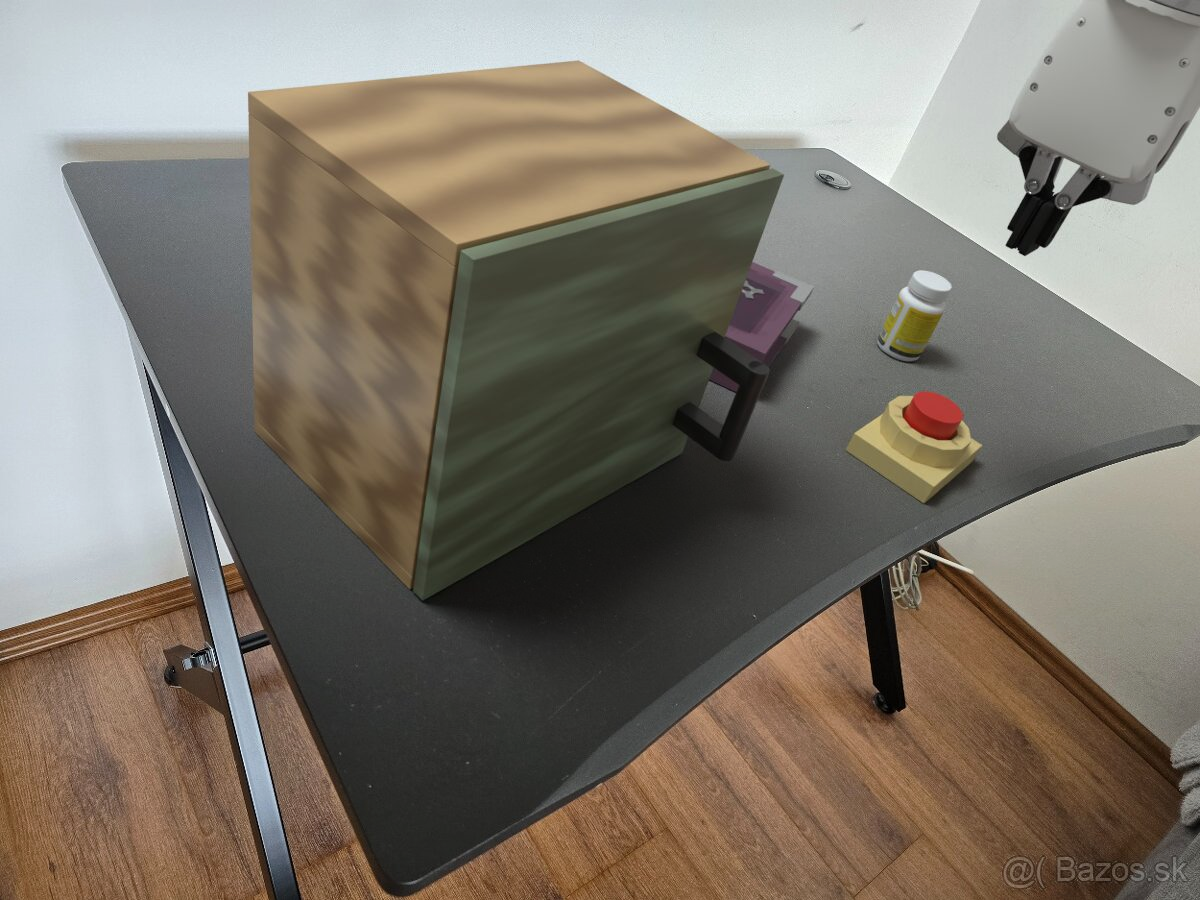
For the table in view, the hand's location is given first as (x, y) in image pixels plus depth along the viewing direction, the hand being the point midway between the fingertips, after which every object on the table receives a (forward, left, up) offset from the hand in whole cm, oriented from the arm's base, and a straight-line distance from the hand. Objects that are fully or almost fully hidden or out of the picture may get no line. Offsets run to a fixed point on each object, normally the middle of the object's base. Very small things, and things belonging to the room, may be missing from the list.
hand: (1022, 246), depth 68 cm
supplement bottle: (+10, -17, -21) cm, 29 cm away
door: (+9, +31, -21) cm, 38 cm away
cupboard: (+22, +31, -21) cm, 43 cm away
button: (0, -1, -17) cm, 18 cm away
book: (+28, +2, -21) cm, 35 cm away
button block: (0, -1, -21) cm, 21 cm away
